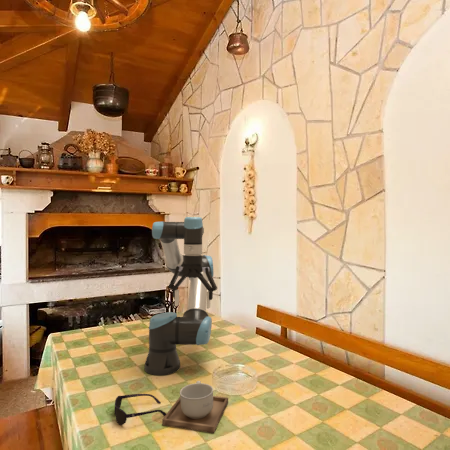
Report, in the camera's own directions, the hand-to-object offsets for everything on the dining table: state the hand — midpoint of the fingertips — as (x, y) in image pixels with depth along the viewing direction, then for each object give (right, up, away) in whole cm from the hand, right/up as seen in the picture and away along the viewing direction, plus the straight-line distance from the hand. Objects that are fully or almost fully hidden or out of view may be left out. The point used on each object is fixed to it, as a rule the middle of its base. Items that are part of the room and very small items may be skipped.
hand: (192, 306), depth 144 cm
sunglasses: (-15, -29, -28) cm, 43 cm away
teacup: (+4, -28, -28) cm, 40 cm away
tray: (+4, -29, -28) cm, 40 cm away
